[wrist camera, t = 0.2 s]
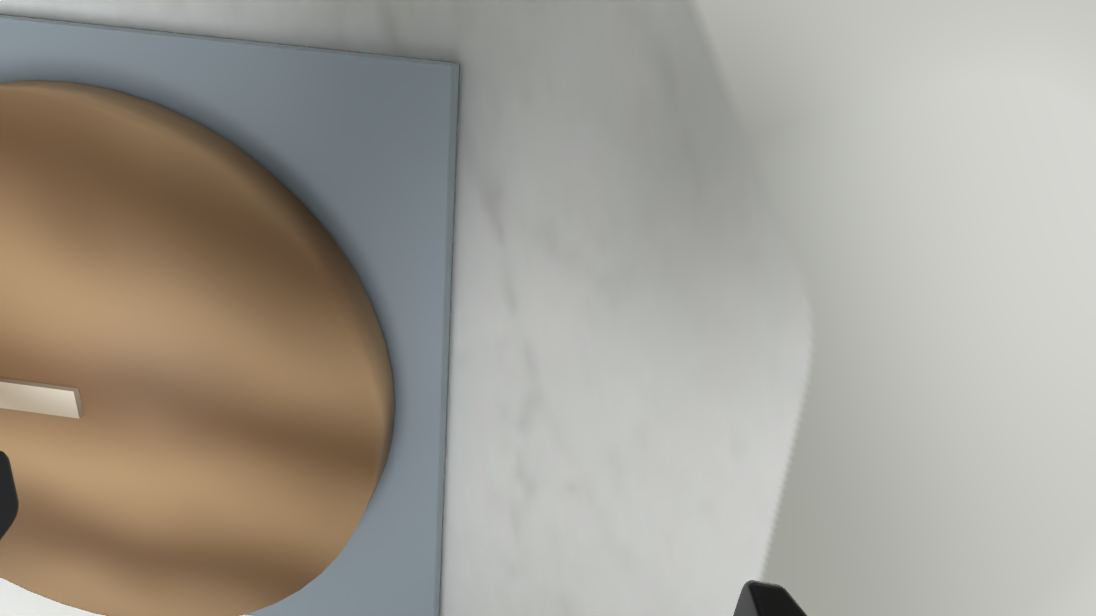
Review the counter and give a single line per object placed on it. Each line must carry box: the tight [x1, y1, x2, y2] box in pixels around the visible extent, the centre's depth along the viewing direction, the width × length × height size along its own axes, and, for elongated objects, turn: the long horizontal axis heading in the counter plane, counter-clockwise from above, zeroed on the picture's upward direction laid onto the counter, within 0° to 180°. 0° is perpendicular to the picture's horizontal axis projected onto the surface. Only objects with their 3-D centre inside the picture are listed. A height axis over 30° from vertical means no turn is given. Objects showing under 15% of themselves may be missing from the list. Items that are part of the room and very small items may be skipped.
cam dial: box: [0, 80, 395, 616], centre depth 21 cm, size 19×19×7 cm
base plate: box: [0, 14, 459, 616], centre depth 24 cm, size 22×22×3 cm
